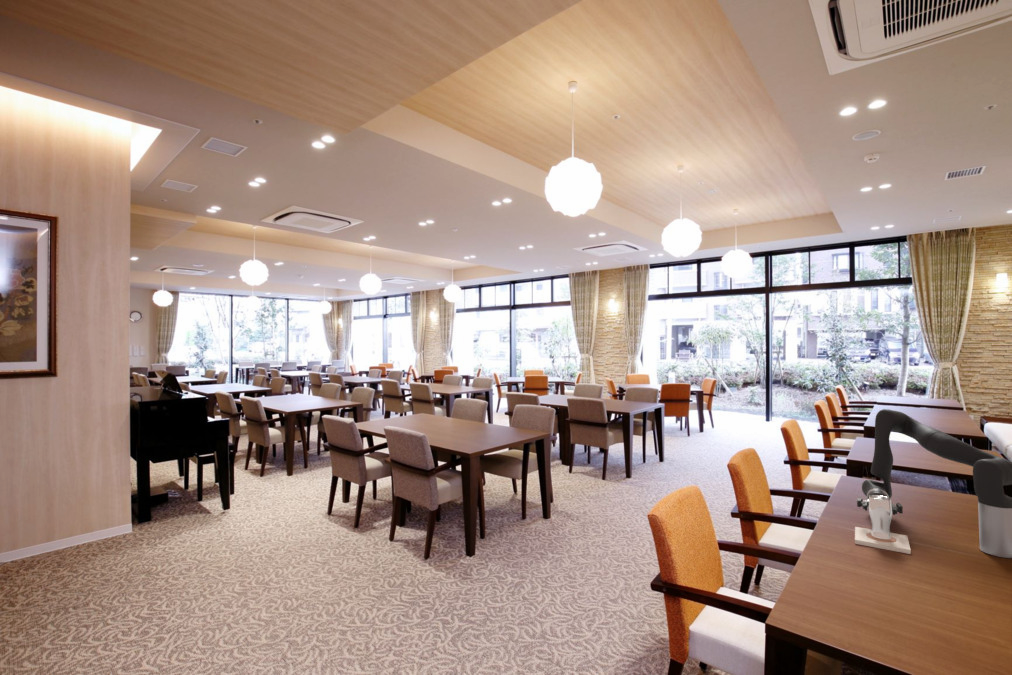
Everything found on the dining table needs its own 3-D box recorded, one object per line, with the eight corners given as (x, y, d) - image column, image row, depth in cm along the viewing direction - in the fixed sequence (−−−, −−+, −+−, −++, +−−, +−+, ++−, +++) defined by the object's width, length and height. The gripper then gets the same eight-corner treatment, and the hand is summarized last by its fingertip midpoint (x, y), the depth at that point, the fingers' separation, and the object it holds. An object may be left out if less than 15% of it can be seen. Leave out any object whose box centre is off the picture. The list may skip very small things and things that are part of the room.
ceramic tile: (907, 539, 181) (906, 535, 181) (910, 554, 168) (910, 549, 168) (855, 530, 191) (855, 526, 191) (855, 543, 178) (854, 539, 178)
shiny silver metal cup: (884, 533, 183) (883, 494, 183) (897, 541, 176) (896, 500, 176) (865, 533, 183) (864, 494, 184) (877, 540, 176) (876, 499, 177)
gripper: (856, 487, 201) (856, 497, 188) (900, 493, 193) (903, 503, 179) (857, 505, 201) (857, 516, 188) (900, 511, 192) (904, 523, 179)
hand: (879, 510), depth 184 cm, fingers open, 8 cm apart
